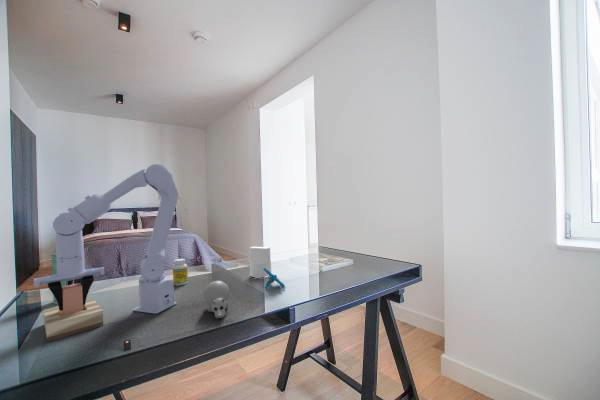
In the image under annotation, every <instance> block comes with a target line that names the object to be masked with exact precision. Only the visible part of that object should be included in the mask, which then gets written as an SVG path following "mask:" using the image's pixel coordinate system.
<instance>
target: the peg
mask: <svg viewBox="0 0 600 400" xmlns="http://www.w3.org/2000/svg"><path fill="white" fill-rule="evenodd" d="M62 302H63V310H62V316H64V315H68V314H72V313H76V312H80V311H83V294H82V285H81V282H78V283H74V284H73V285H68V286H62Z"/></svg>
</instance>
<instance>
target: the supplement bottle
mask: <svg viewBox="0 0 600 400" xmlns="http://www.w3.org/2000/svg"><path fill="white" fill-rule="evenodd" d="M173 263H174V265H173V266H172V277H173V279H172V280H173V281H172V282H173V285H174V286H183V285H186V284H188V282H189V273H188V265H187V264H186V259H185V258H177V259H174V260H173Z"/></svg>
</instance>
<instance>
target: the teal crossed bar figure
mask: <svg viewBox="0 0 600 400" xmlns="http://www.w3.org/2000/svg"><path fill="white" fill-rule="evenodd" d="M263 270H264V271H265V272H266V273H267V274H268V275H269V277H267V279H268V280H267V281H266V282H265V283H264V285H265V286H264V289H265V290H267V289H268V288H269V287H270V286H271V284H273V283H274V282H276V283H277V284H278V285H279V286H281V287H282V288H285V287H286V285H285V284H284V283H283V282H282V281H281V280H280V279H279V278H278V276H277V275H276V274H273V273H272V271H271V272H269V271H268V270H267V269H266V268H264V269H263Z"/></svg>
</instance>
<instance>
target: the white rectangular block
mask: <svg viewBox="0 0 600 400" xmlns="http://www.w3.org/2000/svg"><path fill="white" fill-rule="evenodd" d="M264 268H266V269H267V270H268V271H269V272H271V273H272V260H271V247H270V246H269V247H268V246H250V247H249V277H250V276H252V277H265V276H268V274H267V273H266V272H265V271H264V270H263V269H264Z"/></svg>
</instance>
